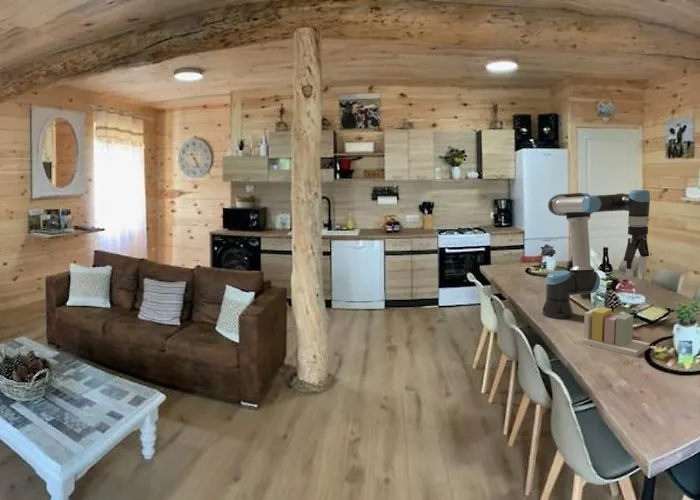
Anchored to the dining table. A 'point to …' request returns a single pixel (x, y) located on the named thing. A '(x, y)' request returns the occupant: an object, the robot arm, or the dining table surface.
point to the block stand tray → (615, 335)
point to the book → (599, 323)
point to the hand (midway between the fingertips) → (635, 273)
